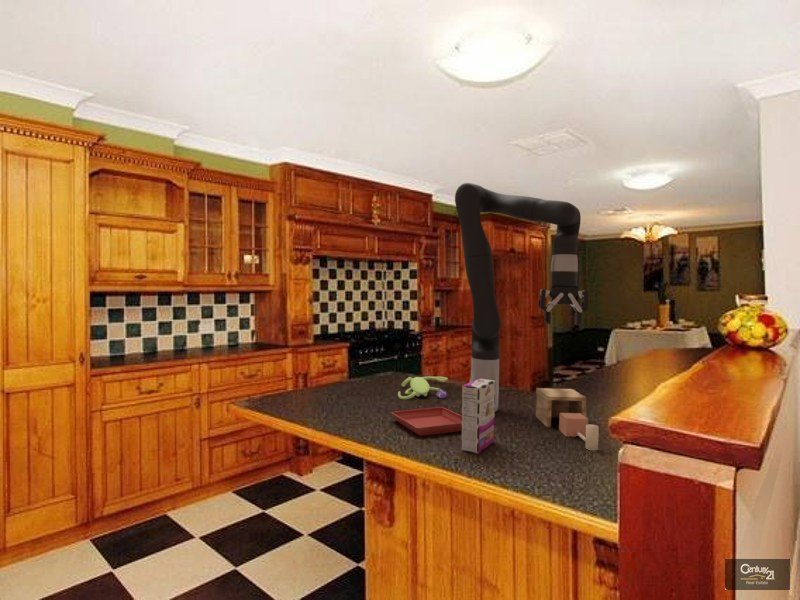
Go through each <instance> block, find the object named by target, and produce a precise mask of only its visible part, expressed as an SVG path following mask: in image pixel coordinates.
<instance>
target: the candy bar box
mask: <svg viewBox="0 0 800 600" xmlns="http://www.w3.org/2000/svg"><path fill="white" fill-rule="evenodd" d="M495 412H496V411H495V381H494V380H488V379H477V380H475V381H472V382H470V381H469V382H468V383H465V384H463V385H461V416H462V430H461V431H460V432H461V433H460V434H461V435H460V436H461V438H460V439H461V443H460V445H461V447H460V449H461V451H462V452H463V451H464V452H466V453H467V452H468V453H471V454H477V455H478V454H480V453H482V452H483V451H484V450H485V449H488V447H490V446H491V445H492V444H494V442H495V426H496V425H495V417H496V414H495Z"/></svg>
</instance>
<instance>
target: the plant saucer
mask: <svg viewBox="0 0 800 600" xmlns="http://www.w3.org/2000/svg"><path fill="white" fill-rule="evenodd" d="M391 415H392V416H393V417H394V419H395V420H396V421H397V422H398V423H399V424H400V425H402V426H403V427H405V428H407V429H409V430H410V431H411V432H413V433H414V434H416V435H418V436H420V437H421V436H422V437H423V436H431V435H438V434H439V435H440V434H448V433H456V432H461V430H462V414H459V413H457V412H454V411H452V410H450V409H448V408H446V407H443V406H442V407H441V406H440V407H429V408H428V407H427V408H418V409H417V408H416V409H407V410H398V411H397V410H396V411H391Z"/></svg>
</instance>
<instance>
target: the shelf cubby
mask: <svg viewBox="0 0 800 600" xmlns="http://www.w3.org/2000/svg"><path fill="white" fill-rule="evenodd" d="M535 389H536V390H535V415H534V416H535V417H536V418H537V419H538V420H539V421H540V422H541V423H542V424H543V425H544V426H545V427H546V428H551V427H552V418H554V419H556V418H558V419H559V414H560V413H581V414H582V415H583V416H585V417H586V418H587V400H588V399H587V397H586V396H585V395H583V394H581V393H579V392H578V391H576V390H575V389H573V388H548V387H546V388H545V387H544V388H543V387H540V388H539V387H536V388H535Z"/></svg>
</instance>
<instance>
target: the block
mask: <svg viewBox="0 0 800 600" xmlns="http://www.w3.org/2000/svg"><path fill="white" fill-rule="evenodd" d="M558 419H559V420H558V431H559V432H561V433H562V434H563V435H564V436H565V437H570V436H571V437H575V438H577V437H576V436H579V437H578V438H580V439H581V440H583V441H584V442H585V443H584V447H585V448H586V449H588V450H598V451H599V432H600V431H599V429H600V427H599V425H596V424H589V418H588V417H587V416H586V417H585V416H583V415H582V414H581V413H560V414H559V418H558ZM585 436H586V437H585ZM571 437H570V438H571ZM585 448H584V449H585ZM586 449H585V450H586ZM588 450H587V451H588Z"/></svg>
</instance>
